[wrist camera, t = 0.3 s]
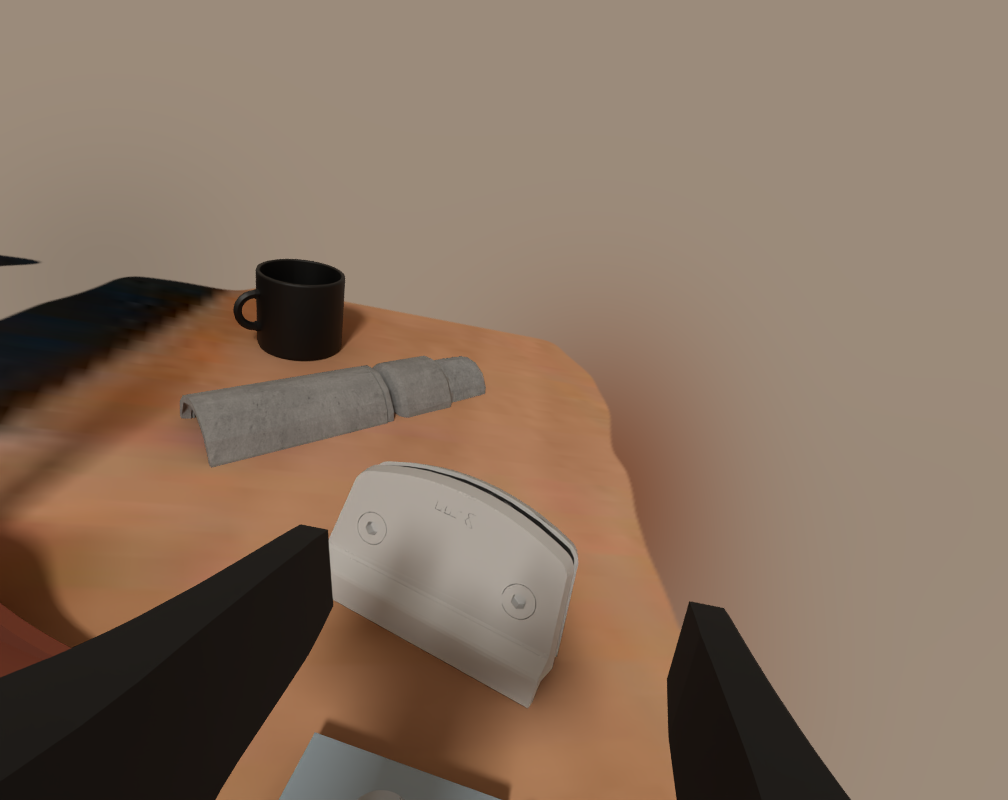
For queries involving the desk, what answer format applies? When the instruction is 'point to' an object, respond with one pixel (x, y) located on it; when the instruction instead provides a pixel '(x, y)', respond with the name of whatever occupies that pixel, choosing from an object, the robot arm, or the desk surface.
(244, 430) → the grey elongated piece
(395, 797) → the peg
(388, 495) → the grey arched plastic casing
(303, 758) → the socket block
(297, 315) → the mug
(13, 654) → the hanging shelf
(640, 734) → the desk surface
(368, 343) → the desk surface
